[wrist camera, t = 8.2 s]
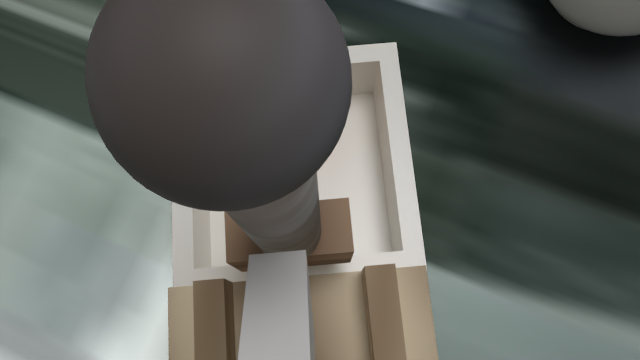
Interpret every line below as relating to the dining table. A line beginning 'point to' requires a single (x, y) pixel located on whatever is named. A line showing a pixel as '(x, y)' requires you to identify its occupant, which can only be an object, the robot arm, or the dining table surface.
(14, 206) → the dining table surface
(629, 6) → the lidded jar
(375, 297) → the launcher
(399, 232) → the tray
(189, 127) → the plunger
